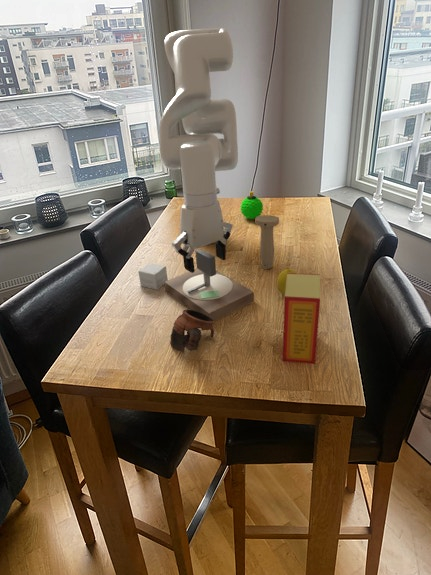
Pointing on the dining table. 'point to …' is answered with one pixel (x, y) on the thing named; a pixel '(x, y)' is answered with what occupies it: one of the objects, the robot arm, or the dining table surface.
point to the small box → (153, 276)
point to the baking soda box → (301, 317)
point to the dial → (214, 291)
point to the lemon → (283, 280)
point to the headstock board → (214, 307)
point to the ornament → (251, 206)
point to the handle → (267, 239)
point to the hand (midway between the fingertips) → (205, 264)
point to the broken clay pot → (190, 330)
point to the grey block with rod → (205, 267)
